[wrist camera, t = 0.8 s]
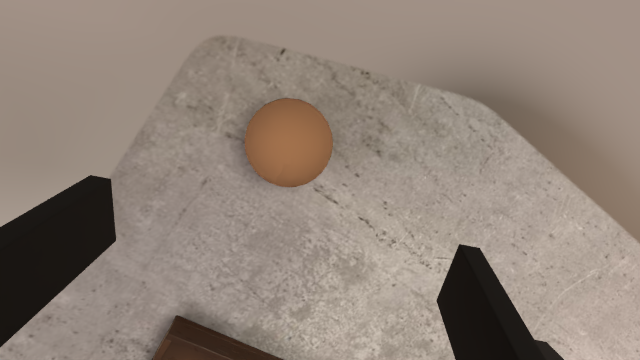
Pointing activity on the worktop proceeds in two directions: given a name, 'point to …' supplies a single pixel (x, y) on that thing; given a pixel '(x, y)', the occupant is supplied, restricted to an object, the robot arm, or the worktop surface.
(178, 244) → the worktop surface
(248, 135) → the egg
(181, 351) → the compartment tray
